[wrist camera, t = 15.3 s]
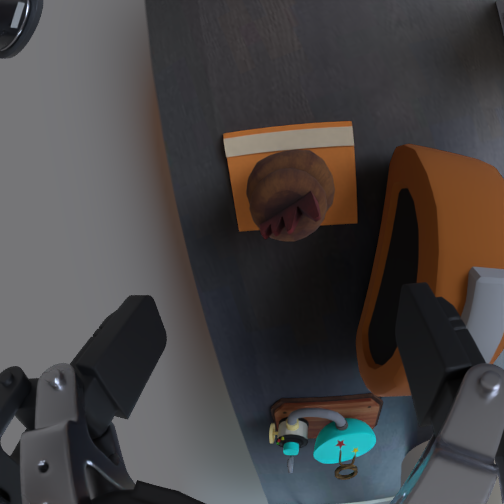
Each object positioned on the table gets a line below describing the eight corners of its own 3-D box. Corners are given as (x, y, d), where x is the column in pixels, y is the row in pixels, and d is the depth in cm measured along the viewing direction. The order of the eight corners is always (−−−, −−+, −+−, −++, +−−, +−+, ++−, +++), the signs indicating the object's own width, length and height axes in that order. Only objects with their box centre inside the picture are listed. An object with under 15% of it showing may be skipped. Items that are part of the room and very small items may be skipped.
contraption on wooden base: (266, 388, 42) (250, 477, 28) (386, 381, 38) (401, 470, 24) (276, 433, 47) (265, 505, 34) (374, 428, 44) (380, 500, 30)
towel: (239, 229, 31) (238, 232, 31) (224, 133, 27) (222, 133, 27) (356, 221, 29) (358, 224, 28) (350, 121, 25) (351, 121, 24)
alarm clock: (386, 138, 25) (481, 171, 10) (463, 153, 24) (577, 203, 9) (351, 335, 35) (364, 454, 20) (415, 337, 34) (449, 445, 19)
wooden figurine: (321, 139, 26) (344, 165, 12) (333, 199, 28) (360, 279, 14) (249, 155, 27) (199, 196, 14) (264, 211, 29) (232, 298, 16)
